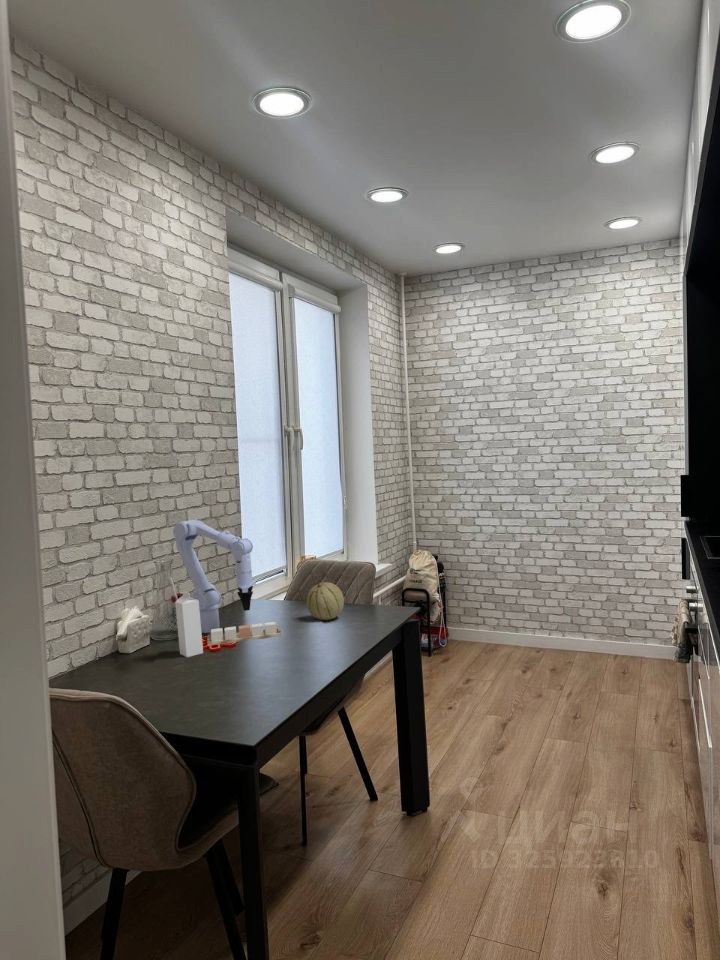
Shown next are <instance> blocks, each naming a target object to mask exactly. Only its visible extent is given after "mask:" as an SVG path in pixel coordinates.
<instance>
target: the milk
mask: <svg viewBox="0 0 720 960" xmlns="http://www.w3.org/2000/svg"><path fill="white" fill-rule="evenodd" d="M174 603H175V612H176V613H175V614H176V623H177V626H176V627H177V635H178V637H177V638H178V645H179V648H178V649H179V655H181V656H183V657H185V658H190V657H193V656H197V655H201V654H204V647H203V635H202V633H201V622H200V611H199V601H198V600H196V599H194V598H193V597H191V593H190V592H188V591H185V590H182V595H181V596H180V597H179V598H178V599H176V601H175V602H174Z"/></svg>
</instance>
